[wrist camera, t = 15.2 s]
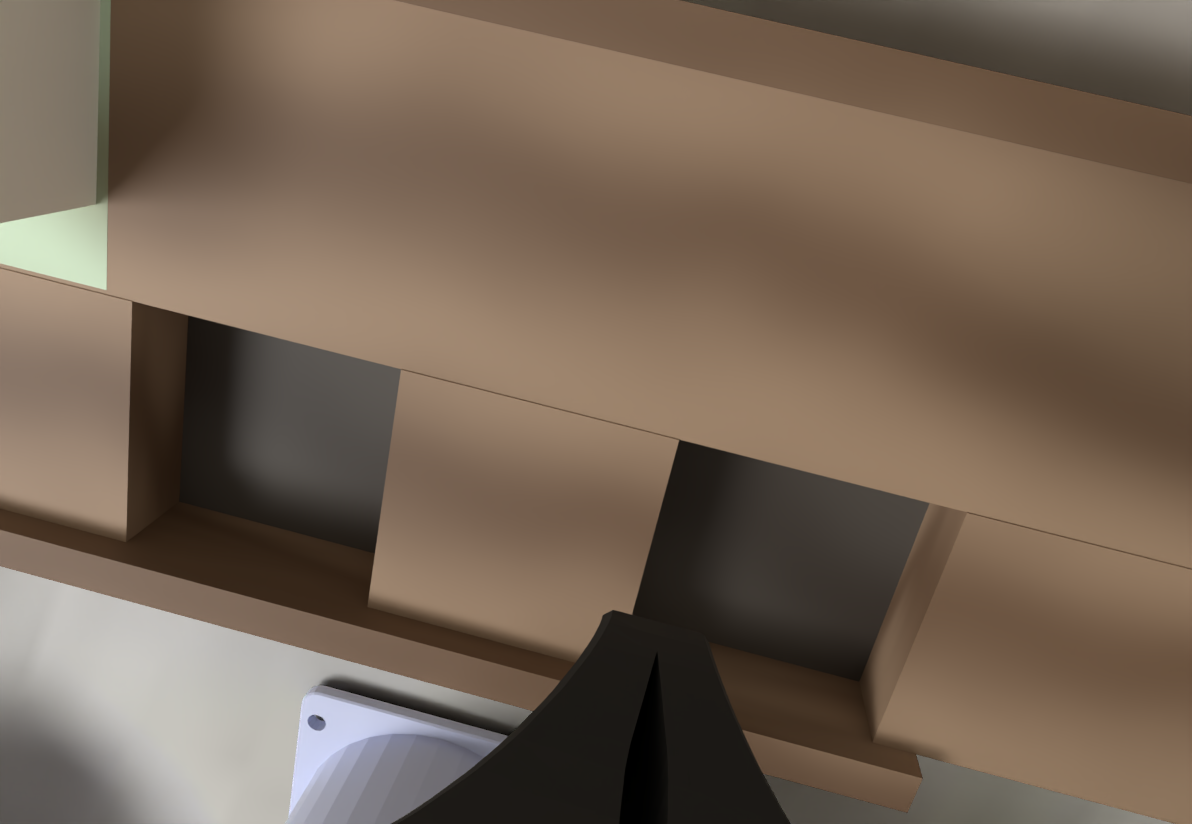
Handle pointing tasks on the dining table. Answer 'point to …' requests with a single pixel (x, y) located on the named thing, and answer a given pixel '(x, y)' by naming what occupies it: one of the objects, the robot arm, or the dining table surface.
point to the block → (48, 106)
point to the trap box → (632, 372)
